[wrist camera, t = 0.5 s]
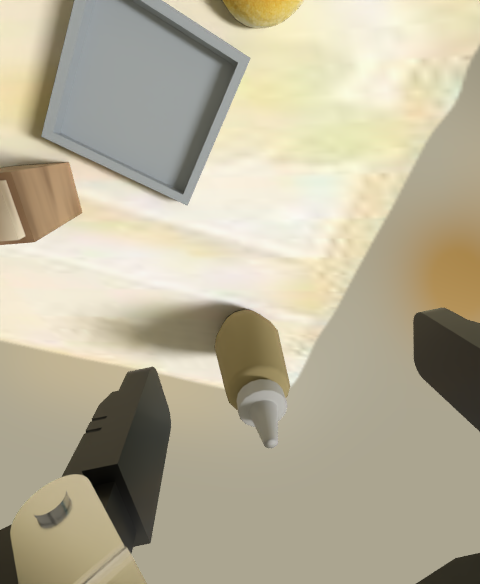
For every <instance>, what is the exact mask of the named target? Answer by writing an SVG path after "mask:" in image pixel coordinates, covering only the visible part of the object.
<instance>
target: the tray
mask: <svg viewBox="0 0 480 584" xmlns="http://www.w3.org/2000/svg"><path fill="white" fill-rule="evenodd" d="M249 60H250V58H249V57H248V56H246V55H245V54H243V53H242V52H240V51H239V50H237V49H236V48H234V47H233V46H231V45H230V44H228V43H226V42H225V41H223V40H222V39H220V38H219V37H217V36H216V35H214V34H213V33H211V32H210V31H208V30H207V29H205V28H203V27H202V26H200V25H199V24H197V23H196V22H194V21H193V20H191V19H190V18H188V17H187V16H185V15H183V14H182V13H180V12H179V11H177V10H176V9H174V8H173V7H171V6H170V5H168V4H167V3H165V2H164V1H162V0H74V4H73V8H72V12H71V16H70V21H69V25H68V29H67V33H66V37H65V41H64V45H63V49H62V53H61V57H60V62H59V66H58V70H57V74H56V78H55V82H54V86H53V90H52V94H51V98H50V103H49V107H48V111H47V115H46V119H45V123H44V127H43V131H42V135H41V137H43V138H45V139H47V140H49V141H52V142H54V143H56V144H58V145H60V146H62V147H64V148H66V149H68V150H71V151H73V152H75V153H77V154H79V155H81V156H83V157H85V158H88V159H90V160H92V161H94V162H96V163H98V164H100V165H102V166H104V167H107V168H109V169H111V170H113V171H115V172H117V173H119V174H121V175H124V176H126V177H128V178H130V179H132V180H134V181H136V182H138V183H140V184H143V185H145V186H147V187H149V188H151V189H153V190H155V191H157V192H160V193H162V194H164V195H166V196H168V197H170V198H172V199H174V200H176V201H179V202H181V203H183V204H185V205H188V203H189V201H190V198H191V196H192V194H193V191H194V189H195V187H196V184H197V182H198V180H199V177H200V175H201V173H202V170H203V168H204V166H205V163H206V161H207V159H208V156H209V154H210V152H211V149H212V147H213V145H214V142H215V140H216V138H217V135H218V133H219V131H220V128H221V126H222V124H223V121H224V119H225V117H226V114H227V112H228V110H229V107H230V105H231V103H232V100H233V98H234V96H235V93H236V91H237V89H238V86H239V84H240V82H241V79H242V77H243V75H244V72H245V70H246V68H247V65H248V63H249Z"/></svg>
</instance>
